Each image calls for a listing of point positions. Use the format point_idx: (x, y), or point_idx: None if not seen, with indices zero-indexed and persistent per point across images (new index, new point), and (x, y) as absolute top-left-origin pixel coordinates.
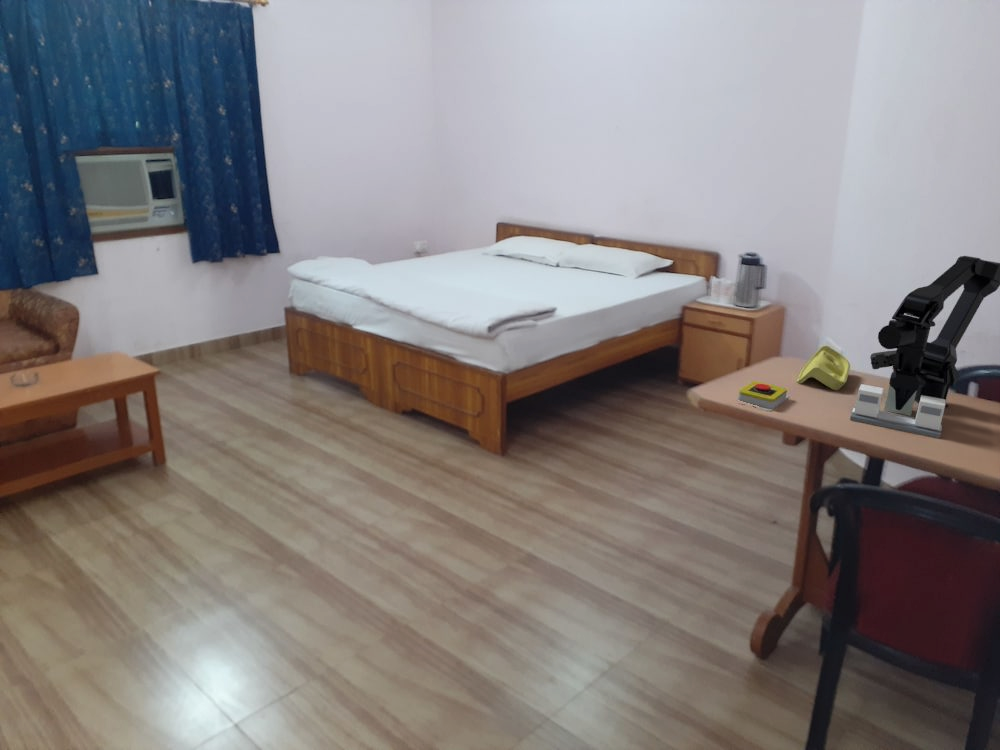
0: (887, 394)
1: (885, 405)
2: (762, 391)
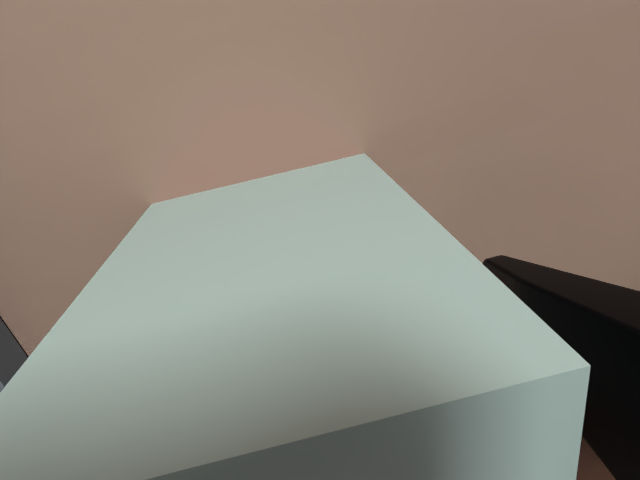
0: (65, 313)
1: (136, 231)
2: None
